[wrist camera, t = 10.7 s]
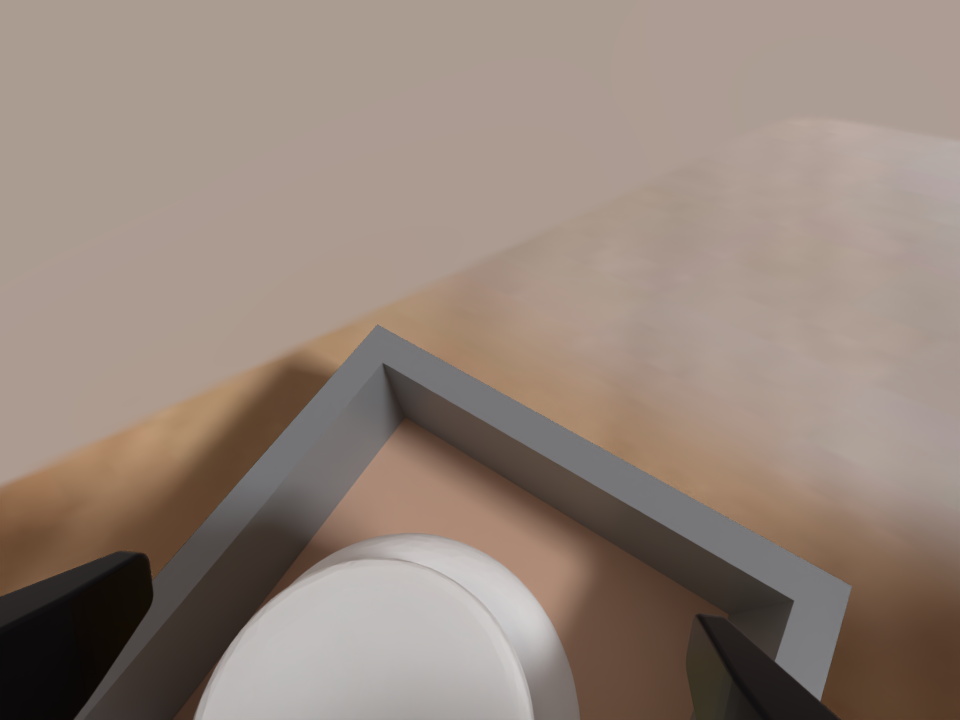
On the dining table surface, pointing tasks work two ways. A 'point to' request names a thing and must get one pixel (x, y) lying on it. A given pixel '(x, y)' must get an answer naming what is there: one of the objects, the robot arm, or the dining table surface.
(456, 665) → the supplement bottle
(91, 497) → the dining table surface
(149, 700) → the walled box
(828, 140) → the dining table surface
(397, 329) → the dining table surface
